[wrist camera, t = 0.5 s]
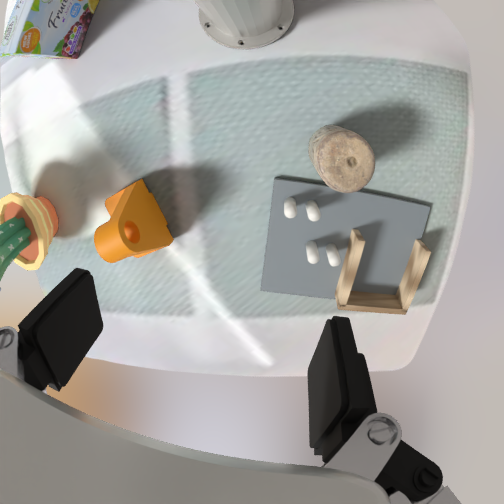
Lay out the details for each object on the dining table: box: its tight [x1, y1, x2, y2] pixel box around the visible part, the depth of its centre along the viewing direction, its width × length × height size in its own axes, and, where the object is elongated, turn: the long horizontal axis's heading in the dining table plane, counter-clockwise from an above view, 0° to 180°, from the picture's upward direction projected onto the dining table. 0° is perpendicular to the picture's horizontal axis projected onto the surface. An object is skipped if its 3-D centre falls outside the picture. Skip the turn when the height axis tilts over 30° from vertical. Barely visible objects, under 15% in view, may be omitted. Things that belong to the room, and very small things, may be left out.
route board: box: [261, 178, 430, 299], centre depth 40 cm, size 18×24×5 cm
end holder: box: [335, 229, 431, 315], centre depth 40 cm, size 12×12×4 cm
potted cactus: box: [0, 193, 58, 290], centre depth 34 cm, size 15×15×25 cm
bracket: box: [94, 179, 174, 263], centre depth 38 cm, size 11×7×12 cm, turn 23°
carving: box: [308, 125, 375, 193], centre depth 30 cm, size 6×8×12 cm
